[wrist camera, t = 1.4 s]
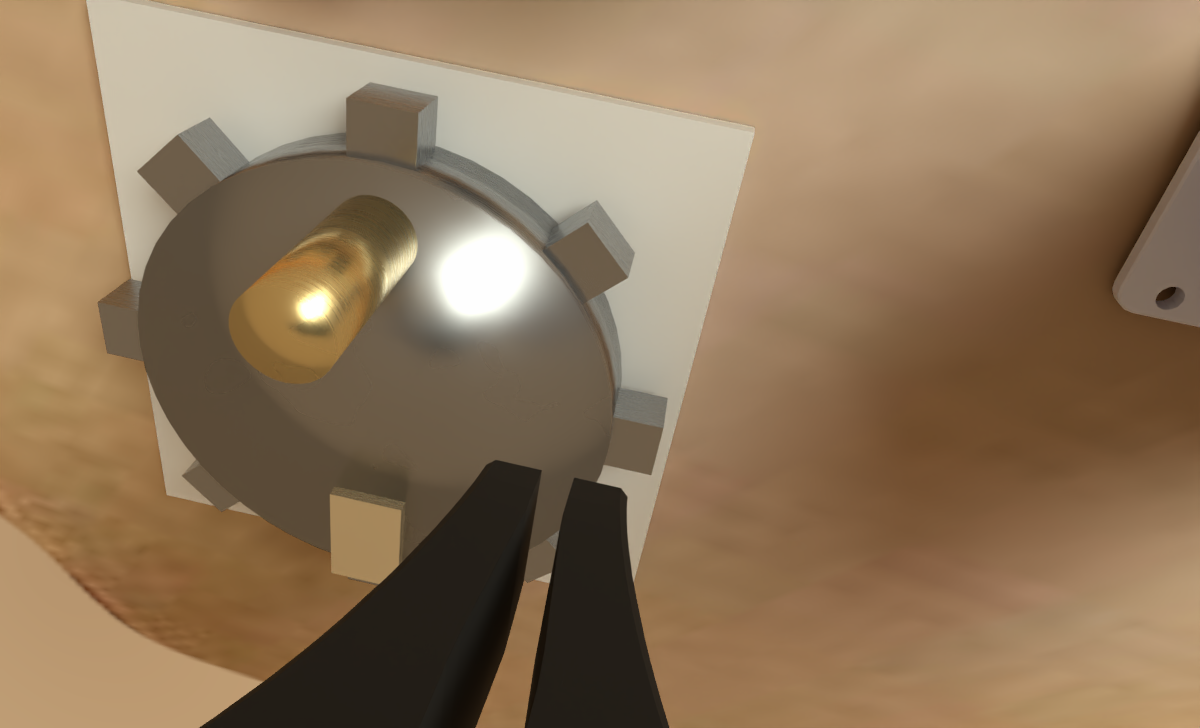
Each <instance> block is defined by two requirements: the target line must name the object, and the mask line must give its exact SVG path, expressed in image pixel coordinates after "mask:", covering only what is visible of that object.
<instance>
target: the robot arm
mask: <svg viewBox="0 0 1200 728" xmlns="http://www.w3.org/2000/svg"><path fill="white" fill-rule="evenodd" d="M1168 287H1177V288H1176V291H1175V293H1174V294H1173V295H1172V296H1171V297H1170V298H1168V299H1165V300H1163V301H1156V297H1157V295H1158V294H1159V293H1160V292H1161V291H1162V290H1164V289H1166V288H1168ZM1112 290H1113V296H1114V298H1115V299H1116V300H1117V302H1118V303H1119V304H1120V305H1121V306H1122V308H1123V309H1124V310H1126V311H1129V312H1131V313H1135V314H1139V315H1144V316H1149V317H1153V318H1158V319H1163V320H1167V321H1172V322H1177V323H1181V324H1186V325H1191V326H1196V327H1200V131H1199V132H1198V134H1197V136H1196V138H1195V140H1194V141H1193V143H1192V145H1191V147H1190V148H1189V150H1188V152H1187V154H1186V155H1185V157H1184V159H1183V161H1182V163H1181V164H1180V166H1179V168H1178V170H1177V171H1176V173H1175V175H1174V177H1173V178H1172V180H1171V182H1170V184H1169V186H1168V187H1167V189H1166V191H1165V193H1164V194H1163V196H1162V198H1161V200H1160V201H1159V203H1158V205H1157V207H1156V209H1155V210H1154V212H1153V214H1152V216H1151V217H1150V219H1149V221H1148V223H1147V224H1146V226H1145V228H1144V230H1143V232H1142V233H1141V235H1140V237H1139V239H1138V240H1137V242H1136V244H1135V246H1134V247H1133V249H1132V251H1131V253H1130V255H1129V256H1128V258H1127V260H1126V262H1125V263H1124V265H1123V267H1122V269H1121V270H1120V272H1119V274H1118V276H1117V278H1116V279H1115V282H1114V285H1113V288H1112ZM541 473H542V470H539V469H535V468H530V467H526V466H521V465H517V464H512V463H508V462H504V461H499V460H494V461H492V462H491V463H489V464H487V465H486V466H485V467H484V469H483V470H482V471H481V473H480V474H479V476H478V477H477V478H476V480H475V481H474V482H473V484H472V485H471V486H470V487H469V489H468V490H467V491H466V492H465V494H464V495H463V496H462V497H461V498H460V500H459V501H458V502H457V503H456V504H455V506H454V507H453V508H452V509H451V510H450V511H449V512H448V514H447V515H446V516H445V517H444V518H443V519H442V520H441V521H440V523H439V524H438V525H437V526H436V527H435V528H434V529H433V530H432V531H431V532H430V533H429V535H428V536H427V537H426V538H425V539H424V540H423V541H422V542H421V543H420V544H419V545H418V546H417V547H416V548H415V549H414V550H413V551H412V552H411V553H410V554H409V555H408V556H407V557H406V558H405V559H404V560H403V561H402V563H401V564H400V565H399V566H398V567H397V568H396V569H395V570H394V571H393V572H392V573H390V574H389V575H388V576H387V577H386V578H385V579H384V580H383V581H382V582H381V583H380V584H379V585H378V586H377V587H375V588H374V589H373V590H372V591H371V592H370V593H369V594H368V595H367V596H366V597H365V598H364V599H362V600H361V601H360V602H359V603H358V604H357V605H356V606H355V607H354V608H353V609H352V610H351V611H349V612H348V613H347V614H346V615H345V616H344V617H343V618H342V619H341V620H339V621H338V622H337V623H336V624H335V625H334V626H332V627H331V628H330V629H329V630H328V631H327V632H325V633H324V634H323V635H322V636H321V637H320V638H318V639H317V640H316V641H315V642H313V643H312V644H311V645H310V646H309V647H307V648H306V649H305V650H304V651H303V652H301V653H300V654H299V655H297V656H296V657H295V658H294V659H292V660H291V661H290V662H289V663H287V664H286V665H285V666H283V667H282V668H281V669H280V670H278V671H277V672H276V673H275V674H273V675H272V676H271V677H269V678H268V679H267V680H265V681H264V682H263V683H261V684H260V685H259V686H257V687H256V688H254V689H253V690H252V691H250V692H249V693H248V694H246V695H245V696H243V697H242V698H241V699H239V700H238V701H236V702H235V703H234V704H232V705H231V706H229V707H228V708H227V709H225V710H224V711H222V712H221V713H220V714H218V715H217V716H216V717H214V718H213V719H211V720H210V721H208V722H207V723H206V724H204V725H203V726H201V727H200V728H475V727H476V725H477V722H478V719H479V717H480V714H481V712H482V709H483V707H484V704H485V701H486V699H487V696H488V694H489V691H490V688H491V686H492V683H493V681H494V678H495V675H496V673H497V670H498V667H499V665H500V662H501V660H502V657H503V654H504V651H505V648H506V644H507V641H508V637H509V633H510V630H511V626H512V622H513V619H514V615H515V611H516V608H517V604H518V600H519V597H520V593H521V589H522V586H523V582H524V577H525V571H526V565H527V558H528V552H529V546H530V540H531V534H532V528H533V522H534V516H535V510H536V504H537V497H538V491H539V485H540V479H541ZM627 499H628V497H627V495H626V494H625V493H624V491H623V490H622V489H621V488H619V487H614V486H610V485H605V484H601V483H597V482H592V481H588V480H583V479H579V478H574V480H573V483H572V486H571V489H570V492H569V496H568V499H567V502H566V506H565V509H564V512H563V516H562V520H561V526H560V531H559V536H558V541H557V547H556V552H555V557H554V563H553V568H552V573H551V579H550V584H549V589H548V594H547V600H546V605H545V610H544V616H543V621H542V626H541V631H540V637H539V642H538V647H537V653H536V658H535V664H534V671H533V677H532V684H531V690H530V697H529V703H528V710H527V716H526V723H525V728H669V725H668V722H667V719H666V715H665V712H664V709H663V705H662V702H661V699H660V695H659V691H658V688H657V684H656V681H655V677H654V673H653V670H652V666H651V662H650V658H649V654H648V650H647V646H646V642H645V638H644V633H643V628H642V623H641V618H640V613H639V609H638V604H637V599H636V594H635V588H634V582H633V576H632V569H631V561H630V554H629V545H628V533H627Z"/></svg>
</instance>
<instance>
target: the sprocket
mask: <svg viewBox="0 0 1200 728" xmlns="http://www.w3.org/2000/svg"><path fill="white" fill-rule="evenodd" d="M437 109H438V96H434V95H429V94H424V93H420V92H415V91H410V90H405V89H401V88H396V87H391V86H386V85H382V84H377V83H372V82H370V83H368V84H366V85H365V86H363V87H362V88H360V89H359V90H357V91H356V92H354V93H353V94H351V95H350V96H348V97H347V98H346V133H337V134H329V135H321V136H313V137H309V138H305V139H302V140H298V141H295V142H291V143H288V144H284V145H281V146H279V147H277V148H275V149H273V150H271V151H268V152H266V153H264V154H262V155H260V156H258V157H256V158H254V159H253V160H251V161H250V162H249V161H248V160H247V159H246V158H245V156H244V155H243V154H242V153H241V152H240V151H239V150H238V149H237V147H236V146H235V145H234V144H233V143H232V142H231V141H230V140H229V138H228V137H227V136H226V135H225V134H224V133H223V132H222V131H221V129H220V128H219V127H218V126H217V125H216V124H215V123H214V121H213V120H212V119H211V118H208V119H206V120H204V121H202V122H200V123H198V124H196V125H194V126H193V127H191V128H189V129H187V130H185V131H183V132H181V133H179V134H177V135H176V136H175V137H174V138H173V139H172V140H171V141H170V142H169V143H168V144H166V145H165V146H164V147H163V148H162V149H161V150H160V151H159V152H158V153H156V154H155V155H154V156H153V157H152V158H151V159H150V160H149V161H148V162H147V163H145V164H144V165H143V166H142V167H141V168H140V169H139V170H138V171H137V172H138V173H139V174H140V175H141V176H142V177H143V179H144V180H145V181H146V182H147V183H148V184H149V185H150V186H151V187H152V188H153V189H154V190H155V191H156V192H157V193H158V194H159V195H160V196H161V197H162V199H163V200H164V201H165V202H166V203H167V204H168V205H169V206H170V207H171V208H172V209H173V210H174V211H175V212H176V213H177V215H176V216H175V217H174V218H173V219H172V221H171V222H170V223H169V224H168V226H167V227H166V229H165V230H164V232H163V233H162V235H161V236H160V238H159V239H158V241H157V242H156V244H155V246H154V248H153V250H152V253H151V255H150V257H149V260H148V262H147V264H146V267H145V270H144V274H143V279H142V282H141V281H137V280H132V279H129V280H128V281H126V282H125V283H123V284H122V285H121V286H119V287H118V288H117V289H115V290H114V291H112V292H111V293H110V294H108V295H107V296H105V297H104V298H103V299H101V300H100V301H99V302H98V307H99V312H100V318H101V323H102V328H103V333H104V339H105V344H106V349H107V353H109V354H114V355H118V356H123V357H127V358H131V359H136V360H140V361H144V364H145V368H146V372H147V375H148V377H149V380H150V383H151V385H152V388H153V391H154V393H155V396H156V398H157V400H158V402H159V404H160V406H161V408H162V410H163V412H164V413H165V415H166V417H167V419H168V421H169V423H170V424H171V426H172V427H173V429H174V430H175V432H176V433H177V435H178V436H179V438H180V439H181V441H182V442H183V444H184V445H185V446H186V447H187V449H188V450H189V451H190V452H191V454H192V455H193V456H194V457H195V458H196V460H195V461H194V462H193V463H192V465H191V466H190V467H189V468H188V469H187V470H186V471H185V473H184V474H183V475H182V477H183V478H184V479H185V480H187V481H188V482H189V483H190V484H191V485H192V486H193V487H194V488H195V489H196V490H198V491H199V492H200V493H201V494H202V495H203V496H204V497H205V498H206V499H208V500H209V501H210V502H211V503H212V504H213V505H214V506H215V507H216V508H217V509H219V510H220V511H221V512H222V511H224V510H226V509H228V508H229V507H231V506H233V505H235V504H236V503H238V502H241V503H242V504H243V505H245V506H246V507H248V508H249V509H250V510H252V511H253V512H255V513H256V514H258V515H259V516H260V517H262V518H263V519H265V520H266V521H268V522H269V523H271V524H273V525H274V526H276V527H278V528H280V529H281V530H283V531H285V532H286V533H288V534H290V535H292V536H294V537H296V538H298V539H300V540H302V541H304V542H306V543H309V544H311V545H313V546H315V547H317V548H320V549H322V550H325V551H328V552H330V553H331V573H334V574H338V575H342V576H347V577H348V579H352V580H356V581H361V582H365V583H369V584H374V585H379V584H380V583H381V582H382V581H383V580H384V579H385V578H386V577H387V576H388V575H389V574H390V573H392V572H393V571H394V570H395V569H396V568H397V567H398V566H399V565H400V564H401V563H402V561H403V560H404V559H405V558H406V557H407V556H408V555H409V554H410V553H411V552H412V551H413V550H414V549H415V548H416V547H417V546H418V545H419V544H420V543H421V542H422V541H423V540H424V539H425V538H426V537H427V536H428V535H429V533H430V532H431V531H432V530H433V529H434V528H435V527H436V526H437V525H438V524H439V523H440V521H441V520H442V519H443V518H444V517H445V516H446V515H447V514H448V512H449V511H450V510H451V509H452V508H453V507H454V506H455V504H456V503H457V502H458V501H459V500H460V498H461V497H462V496H463V495H464V494H465V492H466V491H467V490H468V489H469V487H470V486H471V485H472V484H473V482H474V481H475V480H476V478H477V477H478V476H479V474H480V473H481V471H482V470H483V469H484V467H485V466H486V465H487V464H489V463H491V462H492V461H494V460H499V461H504V462H508V463H512V464H517V465H521V466H526V467H530V468H535V469H539V470H542V473H541V479H540V485H539V491H538V497H537V504H536V510H535V516H534V522H533V528H532V534H531V540H530V546H529V552H528V558H527V565H526V571H525V577H524V580H525V581H526V582H527V583H528V582H530V581H533V580H535V579H537V578H540V577H542V576H545V575H547V574H549V573H552V568H553V563H554V557H555V552H556V547H557V541H558V536H559V531H560V526H561V520H562V516H563V512H564V509H565V506H566V502H567V499H568V496H569V492H570V489H571V486H572V483H573V480H574V478H579V479H583V480H588V481H592V482H597V480H598V478H599V476H600V474H601V472H602V468H603V465H607V466H612V467H616V468H621V469H625V470H629V471H634V472H638V473H643V474H647V475H652V471H653V467H654V463H655V459H656V455H657V452H658V448H659V444H660V440H661V436H662V432H663V428H664V422H665V415H666V408H667V400H668V398H666V397H661V396H656V395H652V394H647V393H643V392H638V391H634V390H629V389H625V388H621V382H622V366H621V350H620V344H619V338H618V333H617V327H616V324H615V321H614V318H613V315H612V312H611V309H610V306H609V302H608V300H607V298H606V295H605V293H604V292H605V291H606V290H608V289H610V288H612V287H613V286H615V285H617V284H618V283H620V282H622V281H624V280H625V279H627V278H628V277H629V273H630V270H631V266H632V262H633V259H634V255H635V252H634V251H633V249H632V248H631V247H630V245H629V244H628V242H627V241H626V240H625V238H624V237H623V235H622V234H621V233H620V231H619V230H618V228H617V227H616V226H615V224H614V223H613V222H612V220H611V219H610V217H609V216H608V215H607V213H606V212H605V210H604V209H603V208H602V206H601V205H600V203H599V202H598V201H597V200H596V201H595V202H593V203H591V204H590V205H588V206H587V207H585V208H584V209H582V210H580V211H579V212H577V213H576V214H574V215H573V216H571V217H569V218H568V219H566V220H565V221H563V222H561V223H560V224H558V223H557V222H556V221H555V220H554V219H553V218H552V217H551V216H550V215H549V214H548V213H546V212H545V211H544V210H543V209H542V208H541V207H540V206H539V205H538V204H537V203H536V202H535V201H533V200H532V199H531V198H530V197H529V196H527V195H526V194H525V193H523V192H522V191H520V190H519V189H518V188H516V187H515V186H514V185H512V184H511V183H509V182H508V181H507V180H505V179H504V178H502V177H501V176H499V175H497V174H495V173H494V172H492V171H490V170H488V169H486V168H485V167H483V166H481V165H479V164H477V163H476V162H474V161H472V160H470V159H467V158H465V157H462V156H460V155H458V154H455V153H453V152H450V151H448V150H445V149H443V148H441V147H437V146H435V144H436V126H437Z"/></svg>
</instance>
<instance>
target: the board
mask: <svg viewBox="0 0 1200 728" xmlns="http://www.w3.org/2000/svg"><path fill="white" fill-rule="evenodd" d="M86 2H87V8H88V14H89V20H90V27H91V33H92V39H93V45H94V51H95V57H96V63H97V70H98V76H99V82H100V88H101V94H102V100H103V106H104V113H105V119H106V125H107V131H108V137H109V143H110V149H111V156H112V162H113V168H114V174H115V180H116V186H117V193H118V199H119V205H120V211H121V217H122V223H123V229H124V236H125V242H126V248H127V254H128V260H129V266H130V272H131V279H132V280H137V281H141V282H142V279H143V274H144V270H145V267H146V264H147V262H148V260H149V257H150V255H151V253H152V250H153V248H154V246H155V244H156V242H157V241H158V239H159V238H160V236H161V235H162V233H163V232H164V230H165V229H166V227H167V226H168V224H169V223H170V222H171V221H172V219H173V218H174V217H175V216H176V215H177V213H176V212H175V211H174V210H173V209H172V208H171V207H170V206H169V205H168V204H167V203H166V202H165V201H164V200H163V199H162V197H161V196H160V195H159V194H158V193H157V192H156V191H155V190H154V189H153V188H152V187H151V186H150V185H149V184H148V183H147V182H146V181H145V180H144V179H143V177H142V176H141V175H140V174H139V173H138V172H137V171H138V170H139V169H140V168H141V167H142V166H143V165H144V164H145V163H147V162H148V161H149V160H150V159H151V158H152V157H153V156H154V155H155V154H156V153H158V152H159V151H160V150H161V149H162V148H163V147H164V146H165V145H166V144H168V143H169V142H170V141H171V140H172V139H173V138H174V137H175V136H176V135H177V134H179V133H181V132H183V131H185V130H187V129H189V128H191V127H193V126H194V125H196V124H198V123H200V122H202V121H204V120H206V119H208V118H211V119H212V120H213V121H214V123H215V124H216V125H217V126H218V127H219V128H220V129H221V131H222V132H223V133H224V134H225V135H226V136H227V137H228V138H229V140H230V141H231V142H232V143H233V144H234V145H235V146H236V147H237V149H238V150H239V151H240V152H241V153H242V154H243V155H244V156H245V158H246V159H247V160H248V161H249V162H250V161H251V160H253V159H254V158H256V157H258V156H260V155H262V154H264V153H266V152H268V151H271V150H273V149H275V148H277V147H279V146H281V145H284V144H288V143H291V142H295V141H298V140H302V139H305V138H309V137H313V136H321V135H329V134H337V133H346V98H347V97H348V96H350V95H351V94H353V93H354V92H356V91H357V90H359V89H360V88H362V87H363V86H365V85H366V84H368V83H370V82H372V83H377V84H382V85H386V86H391V87H396V88H401V89H405V90H410V91H415V92H420V93H424V94H429V95H434V96H438V109H437V126H436V144H435V146H437V147H441V148H443V149H445V150H448V151H450V152H453V153H455V154H458V155H460V156H462V157H465V158H467V159H470V160H472V161H474V162H476V163H477V164H479V165H481V166H483V167H485V168H486V169H488V170H490V171H492V172H494V173H495V174H497V175H499V176H501V177H502V178H504V179H505V180H507V181H508V182H509V183H511V184H512V185H514V186H515V187H516V188H518V189H519V190H520V191H522V192H523V193H525V194H526V195H527V196H529V197H530V198H531V199H532V200H533V201H535V202H536V203H537V204H538V205H539V206H540V207H541V208H542V209H543V210H544V211H545V212H546V213H548V214H549V215H550V216H551V217H552V218H553V219H554V220H555V221H556V222H557V223H558V224H560V223H561V222H563V221H565V220H566V219H568V218H569V217H571V216H573V215H574V214H576V213H577V212H579V211H580V210H582V209H584V208H585V207H587V206H588V205H590V204H591V203H593V202H595V201H596V200H597V201H598V202H599V203H600V205H601V206H602V208H603V209H604V210H605V212H606V213H607V215H608V216H609V217H610V219H611V220H612V222H613V223H614V224H615V226H616V227H617V228H618V230H619V231H620V233H621V234H622V235H623V237H624V238H625V240H626V241H627V242H628V244H629V245H630V247H631V248H632V249H633V251H634V252H635V255H634V259H633V262H632V266H631V270H630V273H629V277H628V278H627V279H625V280H624V281H622V282H620V283H618V284H617V285H615V286H613V287H612V288H610V289H608V290H606V291H605V292H604V293H605V295H606V298H607V300H608V302H609V306H610V309H611V312H612V315H613V318H614V321H615V324H616V327H617V333H618V338H619V344H620V350H621V366H622V382H621V388H625V389H629V390H634V391H638V392H643V393H647V394H652V395H656V396H661V397H666V398H668V400H667V408H666V415H665V422H664V428H663V432H662V436H661V440H660V444H659V448H658V452H657V455H656V459H655V463H654V467H653V471H652V475H647V474H643V473H638V472H634V471H629V470H625V469H621V468H616V467H612V466H607V465H603V468H602V472H601V474H600V476H599V478H598V480H597V483H601V484H605V485H610V486H614V487H619V488H621V489H622V490H623V491H624V493H625V494H626V495H627V497H628V499H627V533H628V545H629V554H630V561H631V569H632V576H633V582H634V580H635V576H636V572H637V568H638V565H639V561H640V557H641V554H642V550H643V546H644V542H645V539H646V535H647V531H648V528H649V524H650V520H651V516H652V513H653V509H654V505H655V501H656V498H657V494H658V490H659V487H660V483H661V479H662V475H663V472H664V468H665V464H666V461H667V457H668V453H669V449H670V446H671V442H672V438H673V435H674V431H675V427H676V423H677V420H678V416H679V412H680V409H681V405H682V401H683V397H684V394H685V390H686V386H687V383H688V379H689V375H690V371H691V368H692V364H693V360H694V357H695V353H696V349H697V345H698V342H699V338H700V334H701V330H702V327H703V323H704V319H705V316H706V312H707V308H708V304H709V301H710V297H711V293H712V290H713V286H714V282H715V278H716V275H717V271H718V267H719V264H720V260H721V256H722V252H723V249H724V245H725V241H726V238H727V234H728V230H729V226H730V223H731V219H732V215H733V212H734V208H735V204H736V200H737V197H738V193H739V189H740V186H741V182H742V178H743V174H744V171H745V167H746V163H747V160H748V156H749V152H750V148H751V145H752V141H753V137H754V133H755V127H752V126H747V125H742V124H738V123H733V122H728V121H723V120H718V119H714V118H709V117H704V116H699V115H694V114H690V113H685V112H680V111H675V110H670V109H666V108H661V107H656V106H651V105H647V104H642V103H637V102H632V101H627V100H623V99H618V98H613V97H608V96H603V95H599V94H594V93H589V92H584V91H579V90H575V89H570V88H565V87H560V86H556V85H551V84H546V83H541V82H536V81H532V80H527V79H522V78H517V77H512V76H508V75H503V74H498V73H493V72H488V71H484V70H479V69H474V68H469V67H465V66H460V65H455V64H450V63H445V62H441V61H436V60H431V59H426V58H421V57H417V56H412V55H407V54H402V53H397V52H393V51H388V50H383V49H378V48H374V47H369V46H364V45H359V44H354V43H350V42H345V41H340V40H335V39H330V38H326V37H321V36H316V35H311V34H306V33H302V32H297V31H292V30H287V29H283V28H278V27H273V26H268V25H263V24H259V23H254V22H249V21H244V20H239V19H235V18H230V17H225V16H220V15H215V14H211V13H206V12H201V11H196V10H192V9H187V8H182V7H177V6H172V5H168V4H163V3H158V2H153V1H148V0H86ZM147 377H148V375H147ZM148 383H149V389H150V395H151V402H152V408H153V414H154V420H155V426H156V432H157V438H158V445H159V451H160V457H161V463H162V469H163V475H164V481H165V488H166V494H167V495H169V496H173V497H178V498H182V499H186V500H191V501H195V502H199V503H204V504H208V505H212V506H214V505H213V504H212V503H211V502H210V501H209V500H208V499H206V498H205V497H204V496H203V495H202V494H201V493H200V492H199V491H198V490H196V489H195V488H194V487H193V486H192V485H191V484H190V483H189V482H188V481H187V480H185V479H184V478H183V477H182V475H183V474H184V473H185V471H186V470H187V469H188V468H189V467H190V466H191V465H192V463H193V462H194V461H195V460H196V458H195V457H194V456H193V455H192V454H191V452H190V451H189V450H188V449H187V447H186V446H185V445H184V444H183V442H182V441H181V439H180V438H179V436H178V435H177V433H176V432H175V430H174V429H173V427H172V426H171V424H170V423H169V421H168V419H167V417H166V415H165V413H164V412H163V410H162V408H161V406H160V404H159V402H158V400H157V398H156V396H155V393H154V391H153V388H152V385H151V383H150V380H149V377H148ZM228 509H230V510H234V511H238V512H243V513H247V514H251V515H256V516H259V515H258V514H256V513H255V512H253V511H252V510H250V509H249V508H248V507H246V506H245V505H243V504H242V503H241V502H238V503H236V504H235V505H233V506H231V507H229V508H228ZM550 579H551V573H549V574H547V575H545V576H542V577H540V578H537V579H535V580H537V581H542V582H546V583H550Z"/></svg>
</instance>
